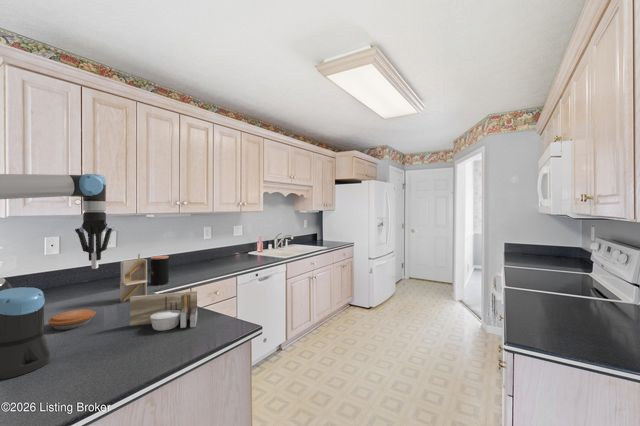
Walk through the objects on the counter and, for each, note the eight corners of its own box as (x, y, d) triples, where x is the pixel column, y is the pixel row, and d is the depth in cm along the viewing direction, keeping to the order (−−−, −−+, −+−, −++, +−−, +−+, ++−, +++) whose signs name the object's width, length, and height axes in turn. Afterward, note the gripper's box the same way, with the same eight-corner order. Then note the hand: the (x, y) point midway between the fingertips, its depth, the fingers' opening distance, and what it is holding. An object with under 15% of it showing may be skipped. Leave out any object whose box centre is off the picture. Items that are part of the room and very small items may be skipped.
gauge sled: (185, 327, 120) (185, 300, 120) (180, 328, 119) (180, 301, 119) (188, 318, 130) (188, 294, 130) (183, 319, 129) (183, 294, 129)
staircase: (119, 301, 157) (119, 254, 157) (143, 296, 166) (143, 252, 166) (124, 304, 152) (124, 255, 152) (148, 299, 161) (148, 253, 160)
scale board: (197, 318, 131) (197, 291, 131) (130, 325, 122) (129, 297, 122) (197, 317, 132) (197, 290, 132) (130, 324, 124) (130, 296, 124)
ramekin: (186, 323, 125) (186, 311, 125) (164, 333, 115) (164, 320, 115) (167, 320, 129) (167, 308, 129) (144, 330, 119) (143, 317, 119)
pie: (76, 332, 117) (76, 319, 117) (36, 332, 116) (36, 320, 116) (104, 318, 132) (104, 307, 132) (69, 318, 132) (69, 307, 132)
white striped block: (195, 327, 121) (195, 315, 121) (190, 327, 120) (190, 315, 120) (197, 318, 131) (196, 307, 131) (192, 319, 130) (192, 308, 130)
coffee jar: (152, 282, 198) (152, 255, 198) (170, 281, 201) (170, 255, 201) (148, 286, 188) (148, 258, 188) (167, 285, 191) (166, 257, 191)
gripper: (116, 211, 127) (116, 265, 127) (79, 211, 123) (79, 267, 123) (110, 211, 120) (110, 268, 120) (71, 211, 116) (71, 271, 116)
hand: (95, 268), depth 122 cm, fingers closed
